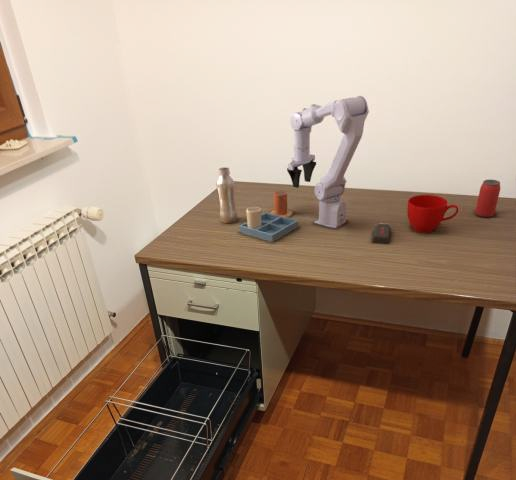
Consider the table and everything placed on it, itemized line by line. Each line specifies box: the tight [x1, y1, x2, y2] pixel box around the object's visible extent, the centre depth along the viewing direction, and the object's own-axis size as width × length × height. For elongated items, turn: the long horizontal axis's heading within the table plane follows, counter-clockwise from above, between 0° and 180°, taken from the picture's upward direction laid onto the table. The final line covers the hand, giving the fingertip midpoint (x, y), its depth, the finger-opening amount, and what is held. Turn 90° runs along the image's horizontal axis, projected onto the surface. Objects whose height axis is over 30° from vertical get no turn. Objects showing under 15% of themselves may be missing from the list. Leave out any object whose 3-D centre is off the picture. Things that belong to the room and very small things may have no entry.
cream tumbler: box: [245, 206, 262, 229], centre depth 176 cm, size 5×5×8 cm
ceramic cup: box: [406, 194, 460, 234], centre depth 170 cm, size 13×17×10 cm
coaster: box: [269, 208, 294, 218], centre depth 191 cm, size 9×9×1 cm
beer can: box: [474, 179, 501, 218], centre depth 178 cm, size 7×7×12 cm
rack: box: [238, 212, 299, 242], centre depth 178 cm, size 15×15×3 cm
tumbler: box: [273, 190, 288, 215], centre depth 189 cm, size 5×5×8 cm
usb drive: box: [372, 223, 392, 244], centre depth 170 cm, size 5×12×3 cm, turn 164°
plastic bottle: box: [216, 167, 238, 224], centre depth 182 cm, size 6×7×20 cm
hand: (301, 184), depth 187 cm, fingers open, 7 cm apart
